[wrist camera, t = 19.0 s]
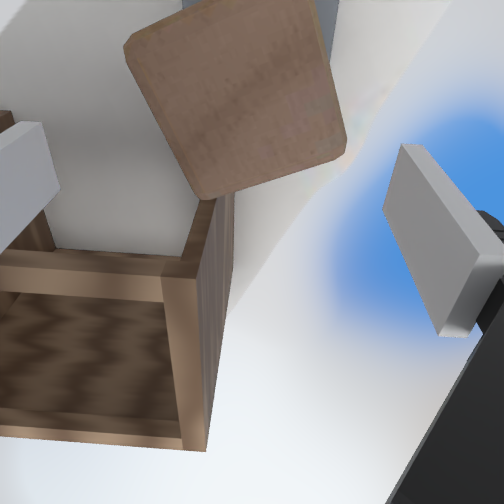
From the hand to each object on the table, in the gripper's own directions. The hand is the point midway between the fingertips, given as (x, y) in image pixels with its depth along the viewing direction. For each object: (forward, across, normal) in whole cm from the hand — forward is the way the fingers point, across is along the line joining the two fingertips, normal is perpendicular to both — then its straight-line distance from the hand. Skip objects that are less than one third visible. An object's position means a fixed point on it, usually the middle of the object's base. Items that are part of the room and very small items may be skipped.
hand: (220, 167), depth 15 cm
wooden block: (+28, 0, 0) cm, 28 cm away
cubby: (+28, -14, -18) cm, 36 cm away
